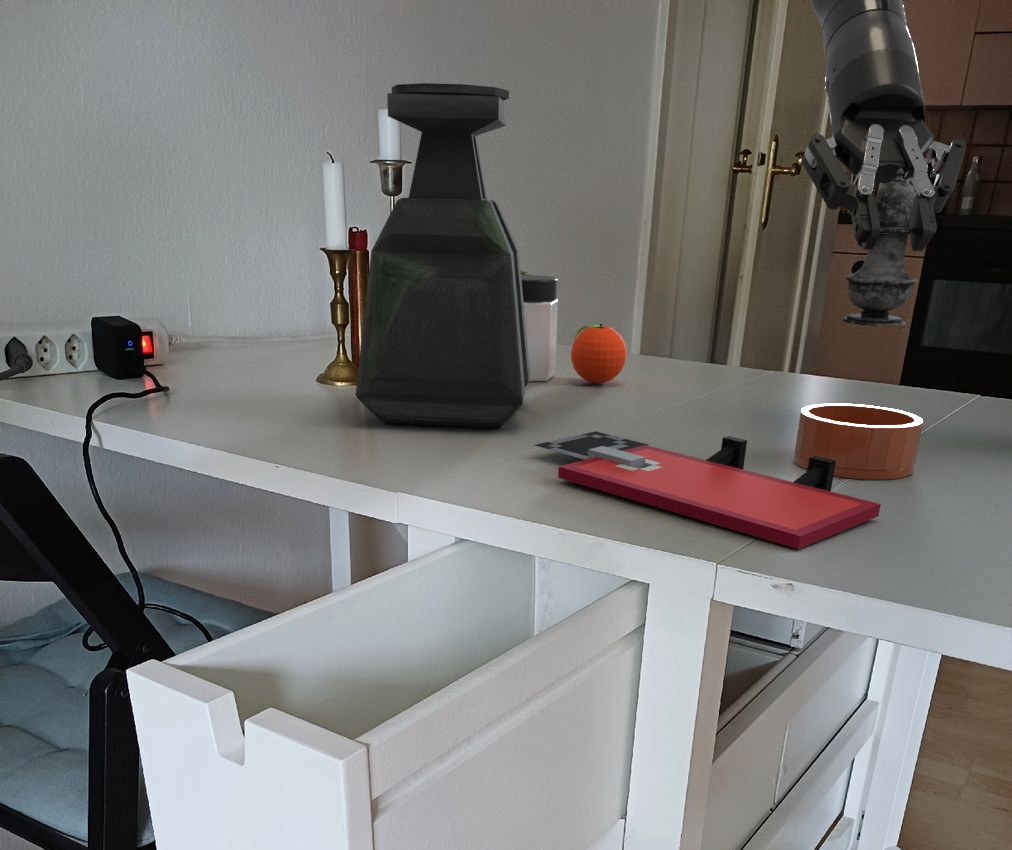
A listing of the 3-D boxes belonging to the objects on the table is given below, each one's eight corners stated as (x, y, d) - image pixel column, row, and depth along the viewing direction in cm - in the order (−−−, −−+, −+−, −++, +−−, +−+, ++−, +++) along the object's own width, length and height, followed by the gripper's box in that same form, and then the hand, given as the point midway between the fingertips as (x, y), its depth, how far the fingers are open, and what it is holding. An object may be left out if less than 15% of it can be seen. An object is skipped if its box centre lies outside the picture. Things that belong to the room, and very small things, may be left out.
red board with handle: (607, 438, 98) (495, 464, 88) (609, 408, 96) (495, 432, 87) (900, 512, 79) (797, 555, 69) (908, 476, 77) (803, 516, 68)
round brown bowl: (886, 452, 97) (896, 405, 95) (931, 481, 88) (942, 428, 86) (779, 450, 96) (786, 402, 95) (813, 478, 87) (822, 426, 85)
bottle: (521, 435, 99) (533, 81, 86) (355, 428, 100) (342, 77, 87) (529, 401, 115) (540, 99, 102) (386, 395, 116) (379, 95, 103)
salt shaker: (824, 318, 89) (848, 166, 84) (878, 317, 91) (905, 169, 86) (868, 327, 84) (896, 166, 79) (924, 326, 86) (955, 168, 81)
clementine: (552, 380, 129) (554, 321, 126) (589, 375, 133) (593, 318, 130) (598, 389, 123) (602, 328, 120) (635, 384, 128) (640, 325, 125)
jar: (474, 375, 130) (475, 275, 125) (517, 369, 136) (520, 273, 131) (526, 385, 125) (529, 281, 120) (568, 378, 130) (573, 278, 125)
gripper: (806, 42, 85) (828, 205, 79) (971, 49, 85) (1005, 211, 80) (779, 118, 92) (797, 273, 86) (932, 124, 92) (960, 277, 87)
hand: (897, 242), depth 83 cm, fingers closed on salt shaker, 3 cm apart
